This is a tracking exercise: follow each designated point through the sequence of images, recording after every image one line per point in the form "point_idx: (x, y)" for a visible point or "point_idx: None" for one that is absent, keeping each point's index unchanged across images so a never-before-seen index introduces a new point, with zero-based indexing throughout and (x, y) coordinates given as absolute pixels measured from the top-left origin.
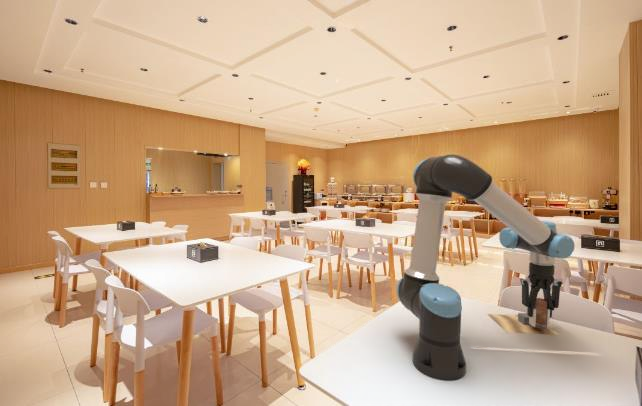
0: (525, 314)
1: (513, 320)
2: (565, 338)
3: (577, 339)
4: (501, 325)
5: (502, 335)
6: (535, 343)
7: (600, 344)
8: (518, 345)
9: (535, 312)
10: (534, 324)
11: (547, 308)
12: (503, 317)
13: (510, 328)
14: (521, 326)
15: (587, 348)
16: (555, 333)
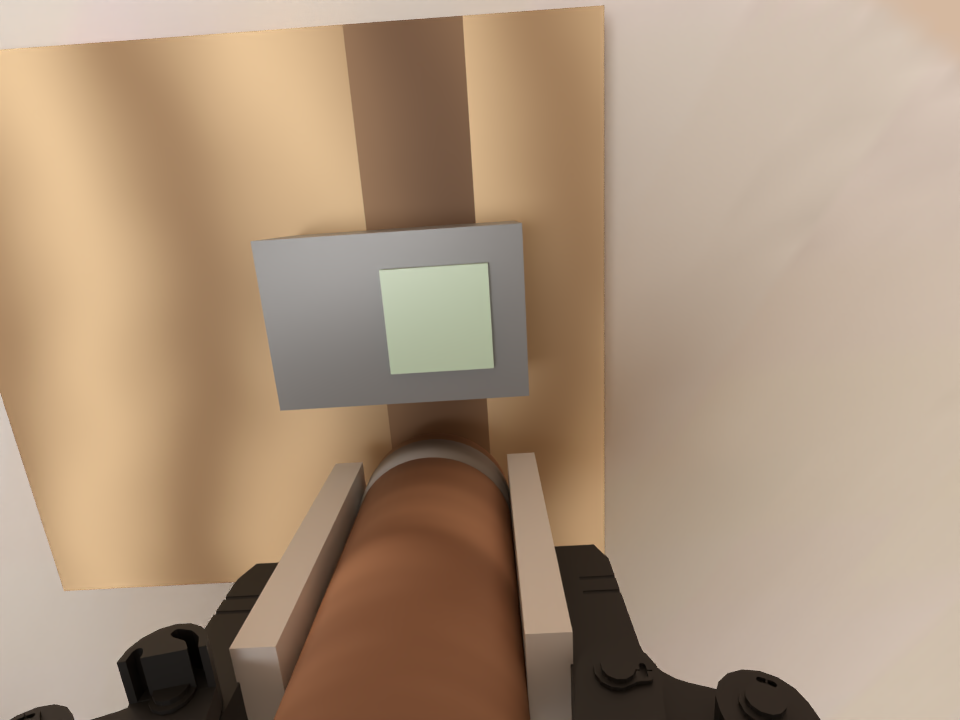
0: (347, 296)
1: (231, 253)
2: (659, 524)
3: (767, 526)
4: (38, 436)
5: None
6: None
7: (911, 589)
8: None
9: None
10: None
11: (570, 701)
12: (117, 165)
13: (126, 496)
14: (271, 426)
15: (724, 670)
16: (577, 541)
